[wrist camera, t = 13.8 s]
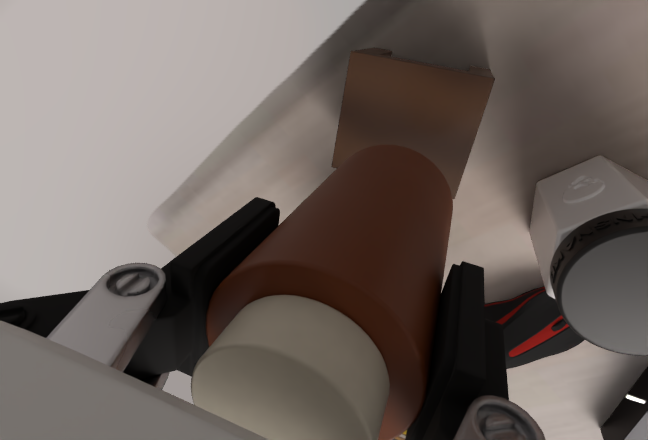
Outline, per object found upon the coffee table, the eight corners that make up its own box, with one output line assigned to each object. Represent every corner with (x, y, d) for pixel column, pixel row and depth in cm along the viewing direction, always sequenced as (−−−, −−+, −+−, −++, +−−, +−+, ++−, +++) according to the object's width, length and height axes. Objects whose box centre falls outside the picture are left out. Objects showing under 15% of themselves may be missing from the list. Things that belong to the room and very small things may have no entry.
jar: (632, 136, 28) (724, 195, 18) (675, 229, 30) (782, 332, 19) (507, 191, 33) (522, 264, 22) (550, 270, 34) (583, 372, 24)
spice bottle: (341, 129, 15) (151, 268, 6) (471, 163, 14) (459, 385, 5) (321, 238, 18) (163, 448, 9) (431, 273, 17) (378, 556, 8)
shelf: (373, 47, 31) (350, 50, 25) (490, 69, 29) (495, 78, 23) (355, 144, 35) (331, 167, 29) (457, 169, 33) (454, 199, 27)
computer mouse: (595, 327, 35) (609, 359, 31) (481, 364, 40) (482, 395, 37) (558, 273, 34) (567, 300, 30) (446, 318, 39) (444, 345, 36)
